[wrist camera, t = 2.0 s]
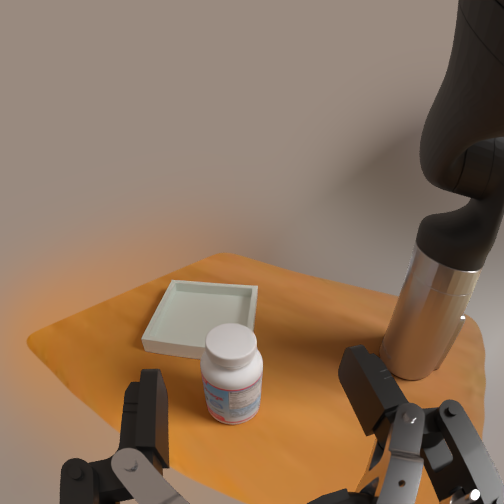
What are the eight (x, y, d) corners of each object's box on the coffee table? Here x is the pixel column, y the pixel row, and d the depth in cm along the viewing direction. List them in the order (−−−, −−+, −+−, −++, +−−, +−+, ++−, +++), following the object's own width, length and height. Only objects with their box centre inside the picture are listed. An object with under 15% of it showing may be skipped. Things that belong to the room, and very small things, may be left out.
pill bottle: (200, 393, 32) (188, 326, 27) (247, 379, 34) (247, 311, 29) (218, 433, 27) (208, 373, 22) (269, 415, 29) (276, 351, 24)
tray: (257, 298, 49) (257, 285, 48) (249, 364, 36) (250, 351, 35) (173, 291, 50) (172, 279, 49) (145, 351, 37) (141, 338, 36)
